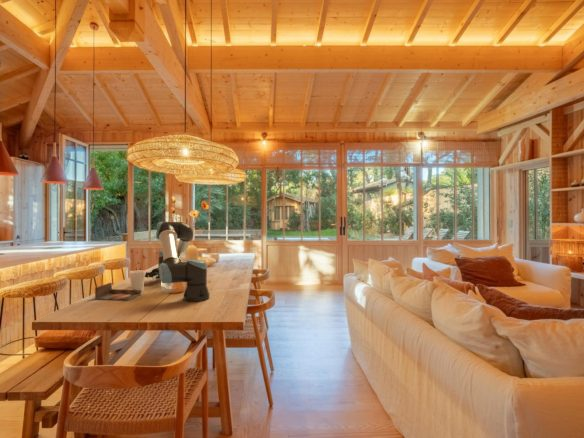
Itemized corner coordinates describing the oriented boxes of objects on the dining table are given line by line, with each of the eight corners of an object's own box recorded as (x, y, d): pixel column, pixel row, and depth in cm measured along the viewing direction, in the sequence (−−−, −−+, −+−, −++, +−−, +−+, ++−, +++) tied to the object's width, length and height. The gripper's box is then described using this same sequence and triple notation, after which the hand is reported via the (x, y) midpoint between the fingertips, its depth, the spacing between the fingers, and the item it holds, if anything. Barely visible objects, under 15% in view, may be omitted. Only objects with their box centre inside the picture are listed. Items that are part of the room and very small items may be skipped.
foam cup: (140, 288, 221) (140, 269, 221) (148, 291, 216) (148, 271, 216) (126, 291, 214) (126, 271, 214) (134, 293, 208) (134, 273, 208)
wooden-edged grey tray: (141, 294, 206) (141, 283, 206) (128, 300, 192) (128, 288, 191) (109, 293, 207) (109, 282, 207) (95, 299, 193) (95, 287, 192)
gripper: (174, 278, 243) (161, 284, 222) (141, 277, 245) (125, 283, 223) (174, 268, 243) (161, 273, 222) (141, 267, 244) (125, 272, 223)
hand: (143, 278), depth 223 cm, fingers open, 13 cm apart
